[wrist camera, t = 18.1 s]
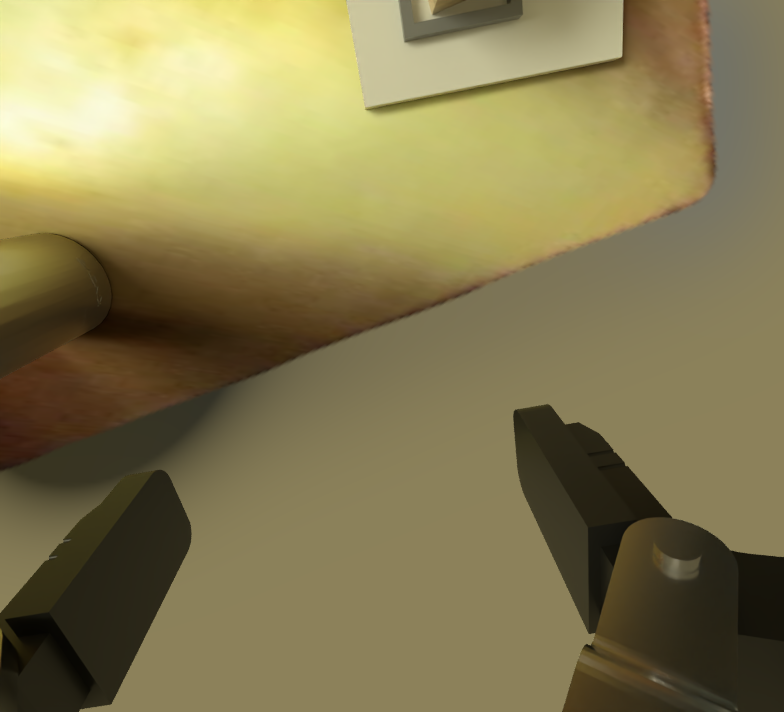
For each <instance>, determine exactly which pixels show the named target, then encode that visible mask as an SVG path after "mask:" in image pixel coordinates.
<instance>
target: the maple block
mask: <svg viewBox="0 0 784 712" xmlns="http://www.w3.org/2000/svg"><path fill="white" fill-rule="evenodd" d="M463 1H465V0H428V2H429V6H430V10H431V13H432V15H433V14H435V13H437V12H440V11H442V10H444V9H447V8H449V7H451V6H454V5H456V4H458V3H461V2H463Z"/></svg>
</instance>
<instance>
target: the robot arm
mask: <svg viewBox="0 0 784 712" xmlns="http://www.w3.org/2000/svg"><path fill="white" fill-rule="evenodd" d="M111 299H112V296H111V287H110V283H109V280H108V277H107V275H106V273H105V271H104V269H103V268H102V266H101V265H100V263H99V262H98V261H97V260H96V258H95V257H94V256H93V255H92V254H91V253H90V252H89V251H87V250H86V249H85V248H84V247H82V246H81V245H79V244H78V243H76V242H75V241H73V240H70V239H68V238H65V237H63V236H59V235H55V234H50V233H37V234H31V235H25V236H19V237H13V238H7V239H0V379H1V378H3V377H4V376H6V375H8V374H10V373H12V372H14V371H16V370H17V369H19V368H21V367H23V366H25V365H27V364H28V363H30V362H32V361H34V360H36V359H38V358H40V357H41V356H43V355H45V354H47V353H49V352H51V351H53V350H54V349H56V348H58V347H60V346H62V345H64V344H66V343H68V342H70V341H71V340H73V339H75V338H77V337H79V336H81V335H83V334H84V333H86V332H88V331H90V330H92V329H94V328H95V327H96V326H98V325H99V324H100V323H101V322H102V321H103V320H104V319H105V317H106V316H107V314H108V311H109V309H110V306H111ZM513 418H514V432H515V444H516V456H517V468H518V474H519V478H520V483H521V487H522V490H523V493H524V495H525V498H526V500H527V502H528V504H529V506H530V508H531V510H532V513H533V514H534V517H535V519H536V521H537V523H538V526H539V528H540V530H541V532H542V534H543V536H544V538H545V540H546V542H547V545H548V547H549V549H550V551H551V553H552V556H553V558H554V560H555V562H556V564H557V566H558V569H559V571H560V573H561V575H562V577H563V579H564V581H565V584H566V586H567V588H568V590H569V592H570V594H571V596H572V599H573V601H574V603H575V605H576V607H577V609H578V611H579V614H580V616H581V618H582V620H583V622H584V624H585V626H586V629H587V631H588V633H589V634H591V633H595V637H594V639H593V642H592V644H591V646H590V645H588V644H586V645H585V646H584V647H583V649H582V651H581V653H580V656H579V659H578V661H577V664H576V667H575V671H574V674H573V677H572V681H571V684H570V687H569V691H568V694H567V698H566V701H565V704H564V708H563V711H562V712H784V557H775V556H766V555H756V554H747V553H740V552H735V551H731V550H730V549H729V548H728V547H727V546H726V545H725V544H724V543H723V542H722V541H721V540H720V539H718V538H717V537H716V536H715V535H713V534H711V533H710V532H709V531H707V530H705V529H703V528H701V527H699V526H696V525H694V524H692V523H689V522H686V521H683V520H678V519H673V518H672V517H671V516H670V515H669V514H668V513H667V511H666V510H665V509H664V508H663V507H662V505H661V504H660V503H659V502H658V501H657V500H656V498H655V497H654V496H653V495H652V494H651V493H650V492H649V490H648V489H647V488H646V487H645V486H644V485H643V483H642V482H641V481H640V480H639V479H638V478H637V476H636V475H635V474H634V473H633V472H632V471H631V470H630V469H629V467H628V466H625V463H624V461H623V460H622V459H621V458H620V457H619V456H618V455H617V453H614V452H613V449H612V448H611V447H610V445H609V444H608V443H607V442H606V441H605V440H604V438H603V437H602V436H601V435H600V434H599V433H597V432H595V431H593V430H592V429H590V428H588V427H586V426H584V425H582V424H581V423H579V422H578V423H572V424H566V425H565V424H564V423H563V421H562V420H561V419H560V417H559V416H558V415H557V414H556V412H555V411H554V410H553V408H552V407H551V406H550V405H548V404H547V405H541V406H535V407H530V408H523V409H517V410H515V411H514V415H513ZM63 540H64V542H63V543H61V544H59V545H58V546H57V548H56V549H55V550H54V551H53V552H52V553H51V555H50V556H49V560H47V561H45V562H44V563H43V564H42V565H41V566H40V568H39V569H38V570H37V571H36V572H35V573H34V575H33V576H32V577H31V578H30V579H29V580H28V582H27V583H26V584H25V585H24V586H23V588H22V589H21V590H20V591H19V592H18V593H17V594H16V595H15V597H14V598H13V599H12V600H11V601H10V602H9V604H8V605H7V606H6V607H5V608H4V610H3V611H2V612H1V613H0V712H79V710H80V709H84V708H90V707H97V706H104V705H110V704H112V702H113V700H114V698H115V696H116V694H117V692H118V690H119V688H120V686H121V684H122V682H123V679H124V678H125V676H126V674H127V672H128V670H129V668H130V666H131V664H132V662H133V660H134V658H135V656H136V654H137V652H138V650H139V648H140V646H141V644H142V642H143V640H144V638H145V636H146V634H147V632H148V630H149V628H150V626H151V624H152V622H153V620H154V618H155V616H156V614H157V612H158V610H159V608H160V606H161V604H162V602H163V600H164V598H165V596H166V594H167V592H168V590H169V588H170V586H171V584H172V582H173V580H174V578H175V576H176V574H177V571H178V570H179V568H180V566H181V564H182V562H183V560H184V558H185V556H186V554H187V552H188V550H189V547H190V543H191V525H190V522H189V519H188V517H187V515H186V513H185V510H184V508H183V506H182V503H181V501H180V499H179V497H178V495H177V493H176V490H175V488H174V486H173V484H172V481H171V479H170V477H169V476H168V474H167V473H166V472H165V471H163V470H155V471H149V472H144V473H138V474H132V475H127V476H125V477H124V478H122V479H121V480H120V482H119V483H118V484H117V485H116V486H115V488H114V489H113V490H112V491H111V492H110V494H109V495H108V496H107V497H106V498H105V500H104V501H103V502H102V503H101V504H100V505H99V506H97V507H96V508H95V509H94V510H92V511H91V512H90V513H89V514H87V515H86V516H85V517H83V518H82V519H81V520H80V521H79V522H78V523H77V525H75V527H74V528H73V529H72V530H71V531H70V533H69V534H68V535H67V536H66V537H65V538H64V539H63Z"/></svg>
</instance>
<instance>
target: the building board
mask: <svg viewBox="0 0 784 712" xmlns="http://www.w3.org/2000/svg"><path fill="white" fill-rule="evenodd" d="M346 2H347V8H348V14H349V19H350V25H351V31H352V36H353V42H354V48H355V53H356V59H357V65H358V70H359V76H360V82H361V87H362V93H363V99H364V104H365V110H366V109H371V108H376V107H382V106H387V105H392V104H397V103H402V102H407V101H412V100H417V99H422V98H427V97H432V96H437V95H442V94H447V93H453V92H458V91H463V90H468V89H473V88H478V87H483V86H488V85H493V84H498V83H503V82H508V81H513V80H518V79H524V78H529V77H534V76H539V75H544V74H549V73H554V72H559V71H564V70H569V69H574V68H579V67H584V66H589V65H594V64H600V63H605V62H610V61H615V60H617V59H619V58H621V57H622V41H623V0H465V1H463V2H461V3H458V4H456V5H454V6H451V7H449V8H447V9H444V10H442V11H440V12H437V13H435V14H433V15H432V13H431V10H430V6H429V2H428V0H346Z"/></svg>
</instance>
